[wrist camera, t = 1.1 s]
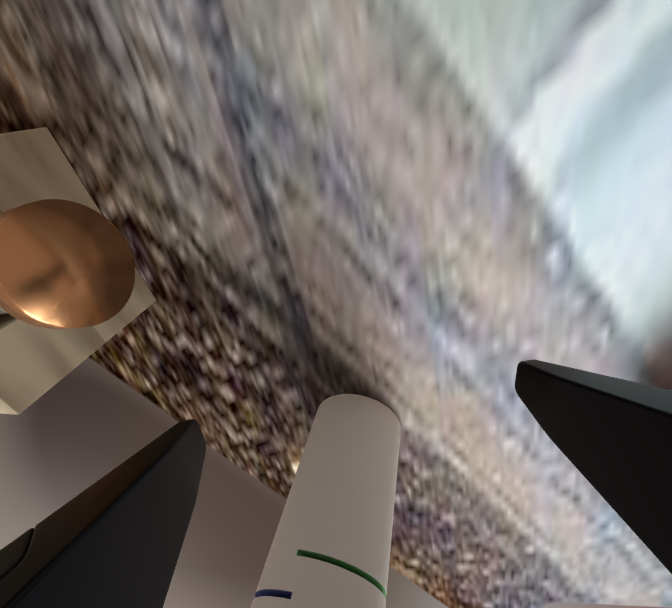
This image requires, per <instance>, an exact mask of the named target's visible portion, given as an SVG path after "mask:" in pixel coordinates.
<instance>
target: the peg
mask: <svg viewBox="0 0 672 608" xmlns="http://www.w3.org/2000/svg"><path fill="white" fill-rule="evenodd" d="M134 283H135V265H134V259H133V256H132V253H131V250H130V248H129V246H128V244H127V242H126V240H125V238H124V237H123V236H122V234H121V233H120V231H119V230H118V229H117V228H116V227H115V226H114V225H113V224H112V223H111V222H110V221H109V220H108V219H107V218H105V217H104V216H103V215H102V214H100V213H98V212H97V211H95V210H93V209H91V208H89V207H88V206H85V205H83V204H80V203H77V202H73V201H69V200H62V199H46V200H39V201H35V202H31V203H28V204H24V205H21V206H17V207H14V208H11V209H9V210H6V211H4V212H3V213H1V214H0V314H7V313H9V314H10V315H11V316H13V317H15V318H17V319H19V320H20V321H23V322H25V323H28V324H30V325H33V326H37V327H41V328H47V329H70V328H82V327H90V326H95V325H98V324H100V323H103V322H105V321H107V320H109V319H111V318H112V317H114V316H115V315H116V314H117V313H118V312H120V311H121V310H122V308H123V307H124V306H125V305H126V303H127V302H128V300H129V298H130V296H131V294H132V291H133V288H134Z"/></svg>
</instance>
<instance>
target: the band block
mask: <svg viewBox="0 0 672 608" xmlns="http://www.w3.org/2000/svg"><path fill="white" fill-rule="evenodd" d="M46 199H62V200H69V201H73V202H77V203H80V204H83V205H85V206H88V207H89V208H91V209H93V210H95V211H97V212H98V213H100V214H101V212H100V210H99V209H98V207H97V206H96V204H95V203H94V201H93V199H92V198H91V196H90V195H89V193H88V192H87V190H86V188H85V187H84V185H83V184H82V182H81V181H80V179H79V177H78V176H77V174H76V173H75V171H74V169H73V168H72V166H71V165H70V163H69V162H68V160H67V158H66V157H65V155H64V154H63V152H62V151H61V149H60V147H59V146H58V144H57V143H56V141H55V139H54V138H53V136H52V135H51V133H50V132H49V130H48V128H47V127H43V128H36V129H29V130H22V131H16V132H9V133H2V134H0V214H1V213H3V212H4V211H6V210H9V209H11V208H14V207H17V206H21V205H24V204H28V203H31V202H35V201H39V200H46ZM155 301H156V299H155V297H154V296H153V294H152V292H151V291H150V289H149V288H148V286H147V285H146V283H145V281H144V280H143V278H142V277H141V275H140V274H139V272H138V270H137V269H136V267H135V283H134V288H133V291H132V294H131V296H130V298H129V300H128V302H127V303H126V305H125V306H124V307H123V308H122V310H121V311H120V312H118V313H117V314H116V315H115V316H114V317H112V318H111V319H109V320H107V321H105V322H103V323H100V324H98V325H95V326H90V327H82V328H70V329H47V328H41V327H37V326H33V325H30V324H28V323H25V322H23V321H20V320H19V319H17V318H15V317H13V316H11V315H10V314H9V313H7V314H0V414H20V413H21V412H22V411H24V410H25V409H26V408H27V407H28V406H30V405H31V404H32V403H33V402H34V401H36V400H37V399H38V398H39V397H40V396H42V395H43V394H44V393H45V392H47V391H48V390H49V389H50V388H51V387H53V386H54V385H55V384H56V383H57V382H59V381H60V380H61V379H62V378H63V377H65V376H66V375H67V374H68V373H69V372H71V371H72V370H73V369H74V368H75V367H77V366H78V365H79V364H80V363H81V362H82V361H84V360H85V359H86V358H87V357H89V356H90V355H91V354H92V353H93V352H95V351H96V350H97V349H98V348H99V347H101V346H102V345H103V344H104V343H105V342H107V341H108V340H109V339H110V338H111V337H113V336H114V335H115V334H116V333H118V332H119V331H120V330H121V329H122V328H124V327H125V326H126V325H127V324H128V323H130V322H131V321H132V320H133V319H134V318H136V317H137V316H138V315H139V314H140V313H142V312H143V311H144V310H145V309H146V308H148V307H149V306H150V305H151V304H152V303H154V302H155Z"/></svg>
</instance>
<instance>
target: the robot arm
mask: <svg viewBox="0 0 672 608" xmlns="http://www.w3.org/2000/svg"><path fill="white" fill-rule="evenodd" d="M515 389H516V392H517V394H518V396H519V397H520V399H521V400H522V401H523V403H524V404H525V405H526V407H527V408H528V409H529V411H530V412H531V414H532V415H533V416H534V418H535V419H536V420H537V422H538V423H539V425H540V426H541V427H542V429H543V430H544V431H545V433H546V434H547V435H548V436H549V437H550V439H551V440H552V441H553V442H554V443H555V444H556V446H557V447H558V448H559V449H560V450H561V451H562V452H563V453H564V454H565V456H566V457H567V458H568V459H569V460H570V461H571V462H572V463H573V464H574V466H575V467H576V468H577V469H578V470H579V471H580V472H581V473H582V475H583V476H584V477H585V478H586V479H587V480H588V481H589V482H590V483H591V485H592V486H593V487H594V488H595V489H596V490H597V491H598V492H599V493H600V495H601V496H602V497H603V498H604V499H605V500H606V501H607V502H608V503H609V505H610V506H611V507H612V508H613V509H614V510H615V511H616V512H617V514H618V515H619V516H620V517H621V518H622V519H623V520H624V521H625V522H626V524H627V525H628V526H629V527H630V528H631V529H632V530H633V531H634V532H635V534H636V535H637V536H638V537H639V538H640V539H641V540H642V541H643V543H644V544H645V545H646V546H647V547H648V548H649V549H650V550H651V551H652V553H653V554H654V555H655V556H656V557H657V558H658V559H659V560H660V562H661V563H662V564H663V565H664V566H665V567H666V568H667V569H668V570H669V572H670V573H671V574H672V390H667V389H663V388H658V387H654V386H649V385H645V384H641V383H636V382H632V381H627V380H623V379H618V378H614V377H609V376H605V375H601V374H596V373H592V372H587V371H583V370H578V369H574V368H569V367H565V366H561V365H556V364H552V363H547V362H543V361H538V360H527V361H521V362H520V363H519V364H518V366H517V373H516V380H515ZM205 452H206V443H205V439H204V437H203V434H202V432H201V429H200V427H199V424H198V422H197V421H196V420H194V419H191V420H186V421H181V422H179V423H177V424H176V425H174V426H173V427H172V428H170V429H169V430H168V431H166V432H165V433H163V434H162V435H161V436H159V437H158V438H156V439H155V440H154V441H152V442H151V443H149V444H148V445H147V446H145V447H144V448H143V449H141V450H140V451H138V452H137V453H136V454H134V455H133V456H131V457H130V458H129V459H127V460H126V461H125V462H123V463H122V464H120V465H119V466H118V467H116V468H115V469H113V470H112V471H111V472H109V473H108V474H107V475H105V476H104V477H102V478H101V479H100V480H98V481H97V482H95V483H94V484H93V485H91V486H90V487H88V488H87V489H86V490H84V491H83V492H82V493H80V494H79V495H77V496H76V497H75V498H73V499H72V500H71V501H69V502H68V503H66V504H65V505H64V506H62V507H61V508H59V509H58V510H57V511H55V512H54V513H52V514H51V515H50V516H48V517H47V518H46V519H44V520H43V521H42V522H40V523H39V524H37V525H36V526H35V529H34V528H31V529H29V530H28V531H26V532H25V533H24V534H22V535H21V536H20V537H18V538H17V539H15V540H14V541H13V542H11V543H10V544H8V545H7V546H6V547H4V548H3V549H1V550H0V608H163V605H164V601H165V598H166V595H167V592H168V589H169V585H170V583H171V579H172V576H173V573H174V570H175V567H176V564H177V560H178V557H179V554H180V550H181V547H182V544H183V541H184V538H185V535H186V532H187V528H188V525H189V522H190V519H191V516H192V512H193V509H194V506H195V502H196V498H197V494H198V488H199V483H200V478H201V473H202V468H203V463H204V458H205Z"/></svg>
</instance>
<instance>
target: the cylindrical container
mask: <svg viewBox="0 0 672 608" xmlns="http://www.w3.org/2000/svg"><path fill="white" fill-rule="evenodd" d="M400 432H401V425H400V422H399V420H398V418H397V416H396V415H395V414H394V412H393V411H392V410H391V409H389V408H388V407H387V406H386V405H384V404H382V403H381V402H379V401H377V400H374V399H372V398H370V397H366V396H362V395H357V394H339V395H334V396H331V397H329V398H327V399H325V400H324V401H323V402H322V403H321V404H320V406H319V408H318V410H317V413H316V416H315V419H314V422H313V425H312V428H311V431H310V434H309V437H308V440H307V442H306V445H305V448H304V451H303V454H302V457H301V460H300V463H299V466H298V469H297V472H296V475H295V478H294V481H293V484H292V487H291V490H290V493H289V496H288V499H287V502H286V505H285V508H284V510H283V513H282V516H281V519H280V522H279V525H278V528H277V531H276V534H275V537H274V540H273V543H272V546H271V549H270V552H269V555H268V558H267V560H266V563H265V566H264V569H263V572H262V576H261V578H260V581H259V584H258V587H257V590H256V593H255V597H256V598H255V599H254V600H253V602H252V605H251V608H385V603H386V600H385V597H386V592H387V581H388V569H389V558H390V547H391V535H392V524H393V512H394V501H395V489H396V478H397V467H398V455H399V444H400Z"/></svg>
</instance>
